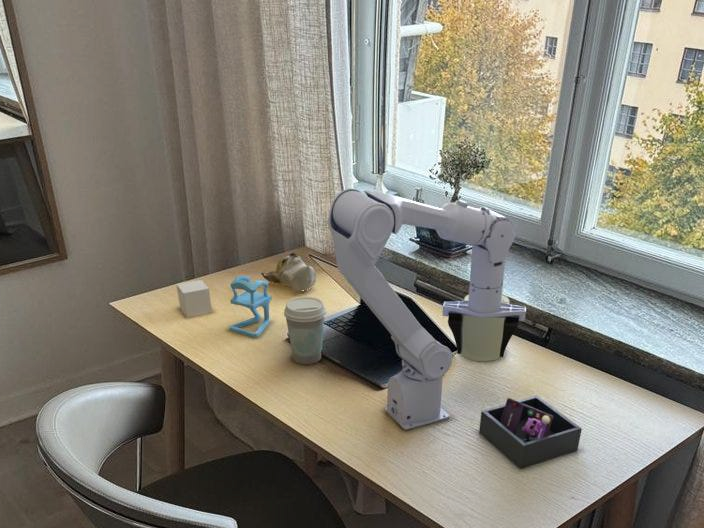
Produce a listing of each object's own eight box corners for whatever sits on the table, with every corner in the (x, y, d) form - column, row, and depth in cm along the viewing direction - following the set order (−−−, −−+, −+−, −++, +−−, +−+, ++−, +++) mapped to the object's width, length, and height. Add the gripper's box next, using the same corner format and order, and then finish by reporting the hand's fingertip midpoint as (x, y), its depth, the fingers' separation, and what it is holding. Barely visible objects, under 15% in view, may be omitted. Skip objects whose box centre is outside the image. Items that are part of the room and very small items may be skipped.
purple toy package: (505, 397, 134) (550, 416, 128) (520, 396, 137) (564, 414, 132) (494, 434, 136) (537, 454, 131) (509, 431, 140) (552, 450, 135)
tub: (520, 468, 129) (523, 446, 126) (478, 432, 138) (481, 410, 135) (577, 451, 133) (582, 428, 130) (533, 417, 142) (537, 395, 139)
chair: (278, 324, 176) (275, 273, 168) (256, 338, 170) (251, 286, 163) (251, 317, 179) (247, 266, 172) (228, 330, 173) (223, 279, 166)
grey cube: (179, 308, 184) (176, 284, 180) (204, 303, 186) (201, 279, 182) (187, 317, 179) (183, 293, 176) (212, 312, 181) (209, 288, 178)
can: (502, 363, 159) (509, 308, 152) (457, 359, 161) (462, 305, 154) (504, 343, 166) (510, 290, 159) (461, 340, 168) (465, 287, 161)
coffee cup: (280, 363, 160) (276, 309, 153) (297, 346, 167) (294, 293, 160) (317, 370, 158) (315, 315, 151) (334, 352, 164) (332, 298, 157)
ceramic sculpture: (289, 264, 181) (256, 250, 191) (292, 300, 186) (260, 285, 196) (326, 255, 186) (292, 242, 196) (328, 290, 191) (295, 275, 201)
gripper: (529, 276, 136) (521, 345, 144) (447, 271, 139) (443, 340, 147) (528, 292, 131) (520, 363, 139) (442, 287, 134) (439, 357, 142)
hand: (480, 353), depth 143 cm, fingers open, 7 cm apart
